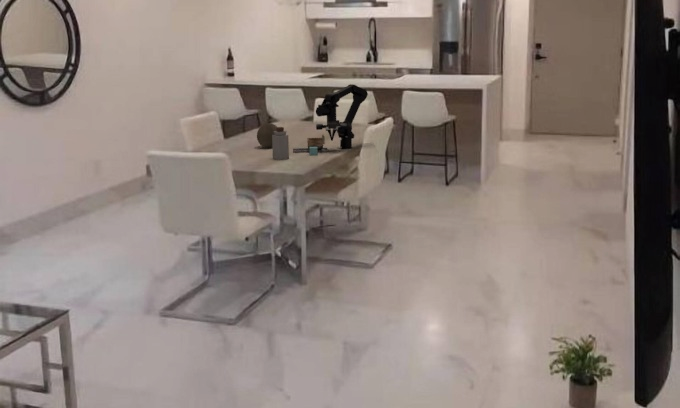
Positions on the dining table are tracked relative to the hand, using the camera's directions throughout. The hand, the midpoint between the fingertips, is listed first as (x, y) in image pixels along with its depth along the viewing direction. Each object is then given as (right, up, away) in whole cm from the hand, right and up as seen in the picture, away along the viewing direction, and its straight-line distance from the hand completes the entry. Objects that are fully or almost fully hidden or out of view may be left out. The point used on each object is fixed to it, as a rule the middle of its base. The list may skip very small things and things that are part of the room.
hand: (331, 140), depth 454 cm
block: (-11, -9, -12) cm, 19 cm away
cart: (-10, -5, +1) cm, 11 cm away
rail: (-13, -6, +1) cm, 14 cm away
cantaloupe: (-40, -3, +15) cm, 42 cm away
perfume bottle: (-29, -12, -21) cm, 38 cm away
